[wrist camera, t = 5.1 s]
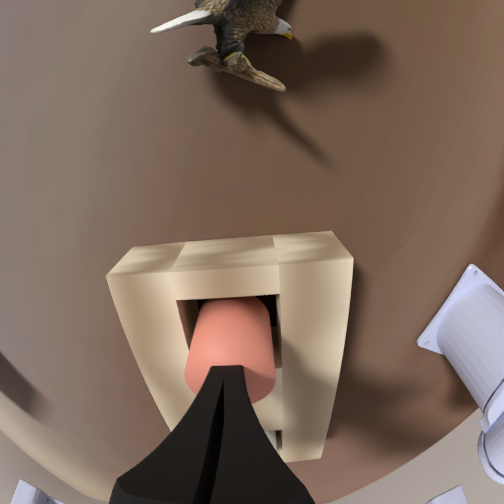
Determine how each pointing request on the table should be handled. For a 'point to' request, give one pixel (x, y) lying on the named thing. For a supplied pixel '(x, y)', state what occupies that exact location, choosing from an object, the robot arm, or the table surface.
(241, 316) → the pink rounded plug
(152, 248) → the press housing
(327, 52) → the table surface
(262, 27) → the eagle figurine
